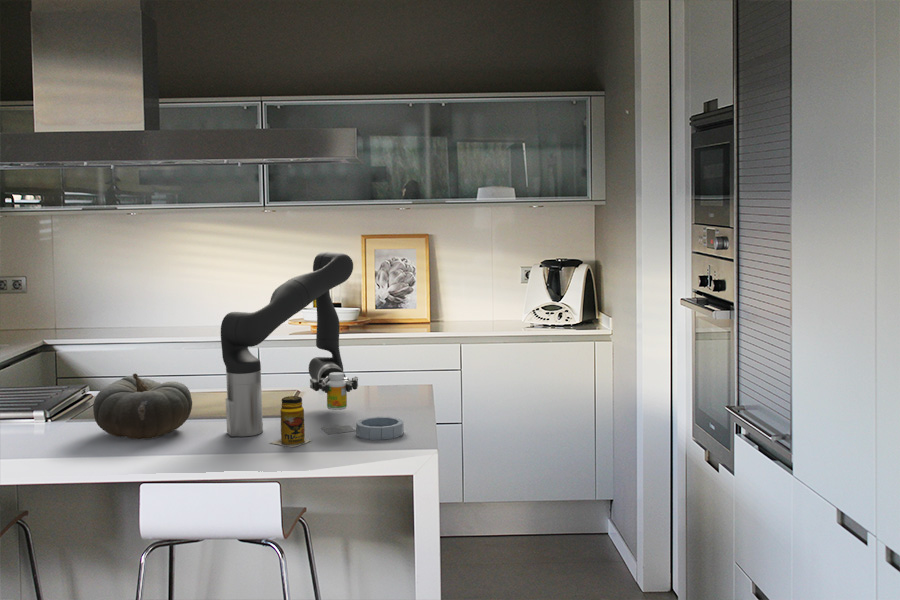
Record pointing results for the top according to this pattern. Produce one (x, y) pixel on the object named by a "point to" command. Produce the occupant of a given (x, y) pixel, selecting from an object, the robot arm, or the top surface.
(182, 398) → the gourd
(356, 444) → the top surface
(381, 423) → the bowl
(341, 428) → the mat
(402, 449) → the top surface
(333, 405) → the supplement bottle
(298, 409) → the condiment
